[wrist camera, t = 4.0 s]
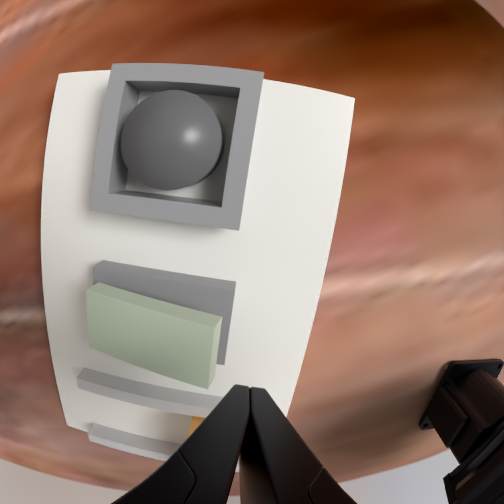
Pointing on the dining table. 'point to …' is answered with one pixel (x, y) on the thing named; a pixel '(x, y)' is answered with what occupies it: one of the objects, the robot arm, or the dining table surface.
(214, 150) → the push button
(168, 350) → the rocker
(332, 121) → the panel
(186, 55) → the dining table surface
